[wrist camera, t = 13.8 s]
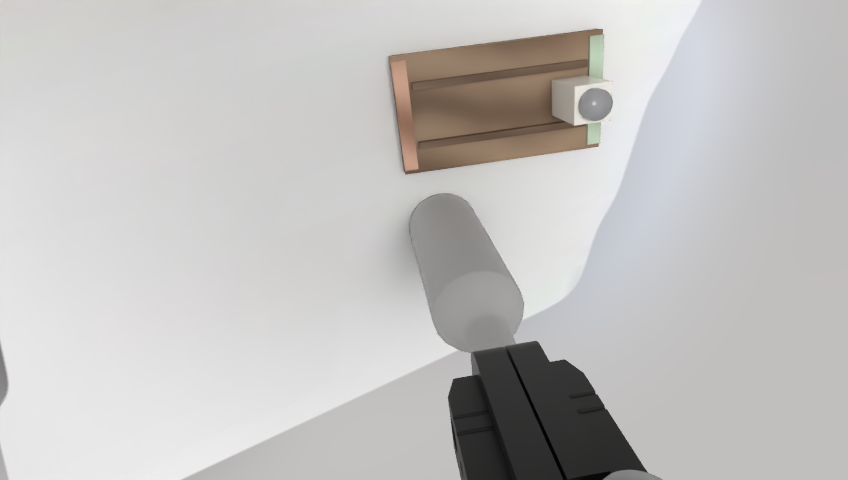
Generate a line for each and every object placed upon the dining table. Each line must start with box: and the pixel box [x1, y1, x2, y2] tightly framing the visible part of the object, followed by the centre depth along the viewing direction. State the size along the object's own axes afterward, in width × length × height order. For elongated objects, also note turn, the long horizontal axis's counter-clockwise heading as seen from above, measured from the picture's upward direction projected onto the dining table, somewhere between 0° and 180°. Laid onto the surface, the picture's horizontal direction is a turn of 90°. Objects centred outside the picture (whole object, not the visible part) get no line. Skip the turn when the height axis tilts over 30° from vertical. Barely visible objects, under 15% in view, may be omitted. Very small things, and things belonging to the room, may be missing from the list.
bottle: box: [410, 194, 524, 353], centre depth 35 cm, size 7×7×28 cm
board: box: [389, 29, 604, 174], centre depth 43 cm, size 10×18×2 cm, turn 96°
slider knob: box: [552, 75, 613, 126], centre depth 40 cm, size 3×3×6 cm
